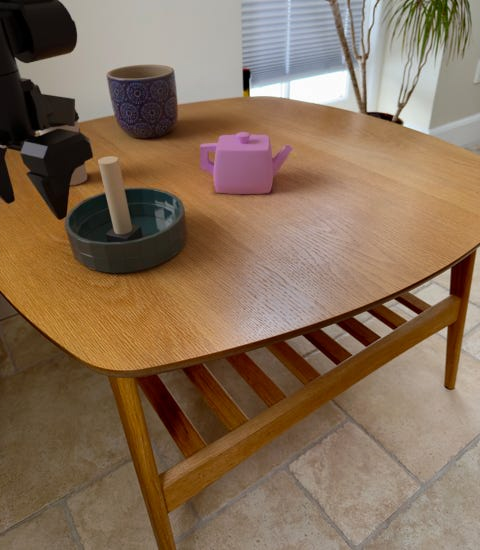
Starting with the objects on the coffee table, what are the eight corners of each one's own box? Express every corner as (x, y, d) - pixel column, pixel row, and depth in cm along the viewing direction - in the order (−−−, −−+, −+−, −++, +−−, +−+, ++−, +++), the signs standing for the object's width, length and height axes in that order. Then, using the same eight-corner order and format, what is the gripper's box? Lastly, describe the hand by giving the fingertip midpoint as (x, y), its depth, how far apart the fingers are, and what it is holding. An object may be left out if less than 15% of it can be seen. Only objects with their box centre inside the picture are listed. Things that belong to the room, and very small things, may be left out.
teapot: (289, 173, 91) (292, 124, 85) (291, 195, 83) (294, 143, 77) (205, 173, 92) (201, 124, 86) (198, 195, 84) (193, 143, 78)
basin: (139, 289, 61) (132, 257, 58) (49, 256, 68) (38, 226, 65) (208, 229, 74) (205, 200, 70) (125, 207, 81) (120, 179, 78)
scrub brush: (129, 252, 68) (111, 167, 59) (108, 247, 69) (87, 163, 60) (143, 239, 71) (128, 156, 62) (122, 235, 72) (104, 153, 63)
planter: (104, 136, 113) (91, 74, 104) (146, 118, 124) (138, 62, 115) (152, 147, 106) (143, 82, 97) (193, 127, 117) (187, 67, 108)
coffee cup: (43, 185, 90) (19, 110, 81) (70, 169, 96) (51, 98, 87) (75, 191, 87) (55, 114, 78) (101, 174, 93) (85, 102, 84)
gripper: (112, 64, 46) (137, 198, 55) (-3, 52, 53) (36, 172, 62) (25, 89, 38) (71, 240, 47) (-96, 71, 45) (-35, 204, 55)
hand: (35, 209), depth 53 cm, fingers open, 9 cm apart
